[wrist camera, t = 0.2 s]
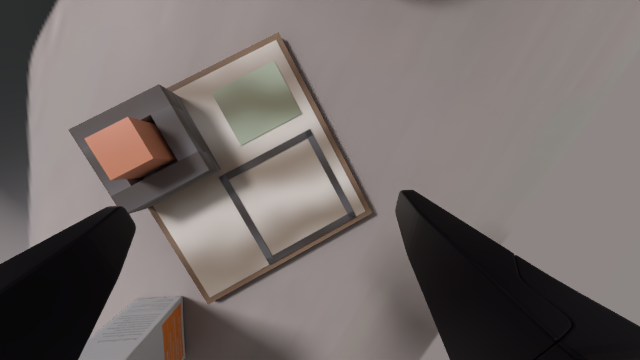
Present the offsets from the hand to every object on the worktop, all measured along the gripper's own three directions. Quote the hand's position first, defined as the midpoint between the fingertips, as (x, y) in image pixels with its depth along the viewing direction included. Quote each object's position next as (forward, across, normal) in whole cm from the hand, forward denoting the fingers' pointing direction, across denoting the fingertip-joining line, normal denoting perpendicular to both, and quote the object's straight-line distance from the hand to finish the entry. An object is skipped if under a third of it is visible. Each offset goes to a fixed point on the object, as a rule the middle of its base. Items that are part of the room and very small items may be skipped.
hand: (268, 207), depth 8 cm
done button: (+11, +10, +4) cm, 16 cm away
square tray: (+13, +4, +7) cm, 15 cm away
